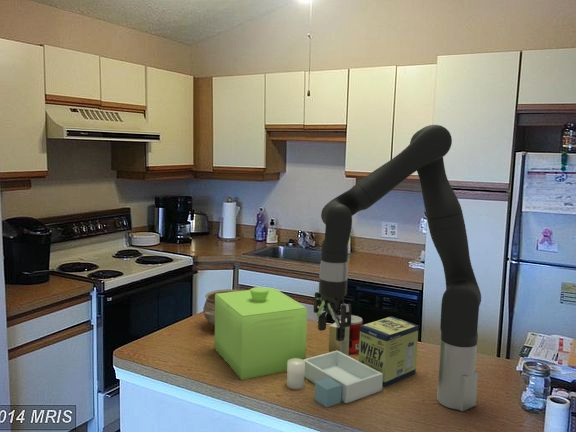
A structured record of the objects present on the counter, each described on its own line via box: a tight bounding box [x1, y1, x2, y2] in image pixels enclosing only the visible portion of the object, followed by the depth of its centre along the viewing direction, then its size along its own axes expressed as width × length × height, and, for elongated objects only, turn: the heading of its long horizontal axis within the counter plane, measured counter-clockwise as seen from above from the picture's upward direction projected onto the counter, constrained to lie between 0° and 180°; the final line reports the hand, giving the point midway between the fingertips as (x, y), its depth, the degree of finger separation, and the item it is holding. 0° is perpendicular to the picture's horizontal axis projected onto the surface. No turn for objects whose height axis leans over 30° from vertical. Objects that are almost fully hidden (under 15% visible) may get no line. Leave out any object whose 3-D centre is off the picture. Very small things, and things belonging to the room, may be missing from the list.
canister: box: [214, 286, 308, 381], centre depth 158 cm, size 25×21×23 cm
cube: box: [314, 378, 342, 408], centre depth 132 cm, size 5×5×5 cm
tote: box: [304, 350, 383, 404], centre depth 143 cm, size 20×14×5 cm
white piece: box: [286, 358, 305, 390], centre depth 140 cm, size 5×5×7 cm
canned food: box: [339, 314, 364, 355], centre depth 167 cm, size 8×8×11 cm
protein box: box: [358, 315, 419, 388], centre depth 149 cm, size 10×16×16 cm
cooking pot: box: [202, 288, 243, 326], centre depth 186 cm, size 25×19×12 cm
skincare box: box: [328, 320, 350, 357], centre depth 158 cm, size 6×4×12 cm
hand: (330, 335), depth 133 cm, fingers open, 8 cm apart
